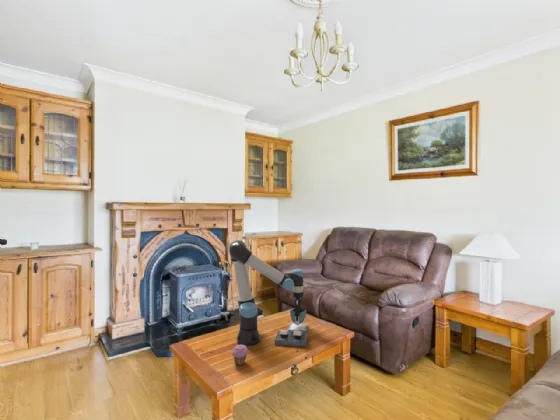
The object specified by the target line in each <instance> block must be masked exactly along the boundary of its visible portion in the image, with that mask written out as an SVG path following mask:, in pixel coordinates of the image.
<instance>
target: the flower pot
mask: <svg viewBox="0 0 560 420" xmlns="http://www.w3.org/2000/svg"><path fill="white" fill-rule="evenodd" d="M301 308H302V307H301ZM301 308H299V324H300V323H302V324H303V323H304V321H305V320H306V319H305V318H306V315H307V309H305V308H302V309H301ZM289 314H290V319H291V321H292V323H295V316H294V315H295V307H294V308H292V309H290V310H289Z"/></svg>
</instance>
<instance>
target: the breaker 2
mask: <svg viewBox="0 0 560 420" xmlns="http://www.w3.org/2000/svg"><path fill="white" fill-rule="evenodd" d="M294 335H299V336H301V335H302V332H301V331H294Z"/></svg>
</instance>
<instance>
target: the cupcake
mask: <svg viewBox="0 0 560 420" xmlns="http://www.w3.org/2000/svg"><path fill="white" fill-rule="evenodd" d="M231 354H232V356H233V360H234V361H233V362H234V364H235V365H238V366H242V365H243V364H244V363H245V362H246V359H247V355H248V354H249V349H248V347H247V346H246V345H241V344H238V345H235V347H233V349H232V351H231Z"/></svg>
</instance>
